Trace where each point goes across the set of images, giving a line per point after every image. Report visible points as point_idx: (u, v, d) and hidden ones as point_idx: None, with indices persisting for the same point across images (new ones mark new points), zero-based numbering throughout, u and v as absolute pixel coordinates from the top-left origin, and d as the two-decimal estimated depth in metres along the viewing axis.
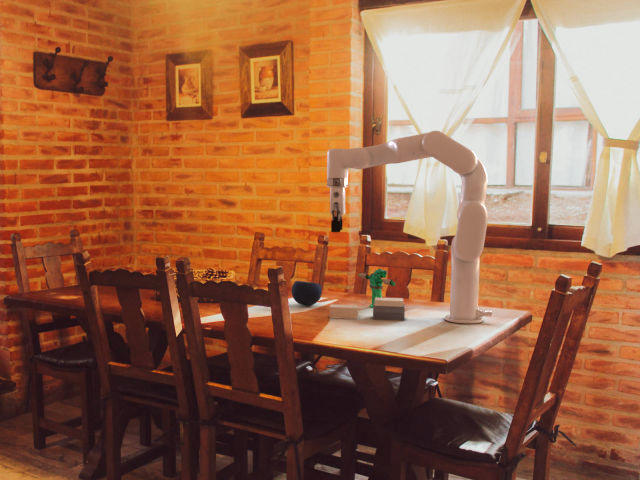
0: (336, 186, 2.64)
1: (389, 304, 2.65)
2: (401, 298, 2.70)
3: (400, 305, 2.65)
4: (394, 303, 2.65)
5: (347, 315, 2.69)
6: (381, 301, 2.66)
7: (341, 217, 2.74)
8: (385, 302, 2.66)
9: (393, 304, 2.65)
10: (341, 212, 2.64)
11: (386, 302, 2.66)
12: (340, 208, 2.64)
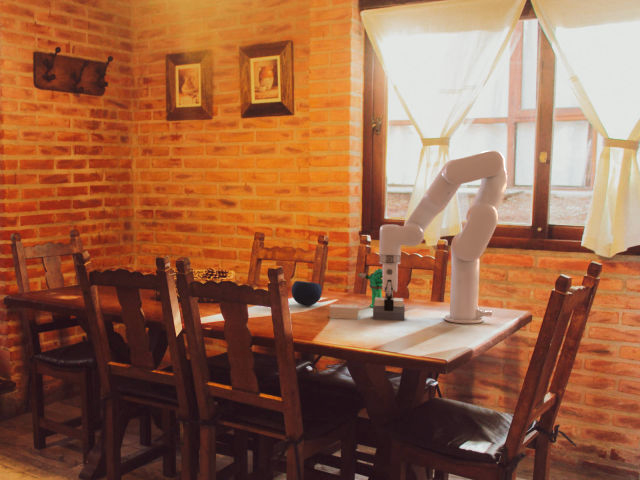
0: (389, 263, 2.63)
1: None
2: (401, 298, 2.70)
3: (400, 305, 2.65)
4: (394, 303, 2.65)
5: (347, 315, 2.69)
6: (381, 301, 2.66)
7: None
8: None
9: (393, 304, 2.65)
10: (394, 289, 2.63)
11: None
12: (393, 285, 2.62)
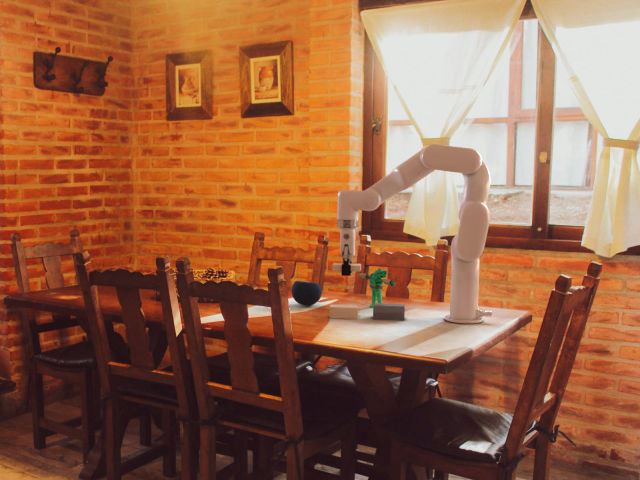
0: (346, 228, 2.64)
1: None
2: None
3: (357, 270, 2.66)
4: (351, 268, 2.67)
5: (347, 315, 2.69)
6: (338, 266, 2.67)
7: (350, 259, 2.73)
8: None
9: None
10: (351, 254, 2.64)
11: None
12: (350, 250, 2.64)
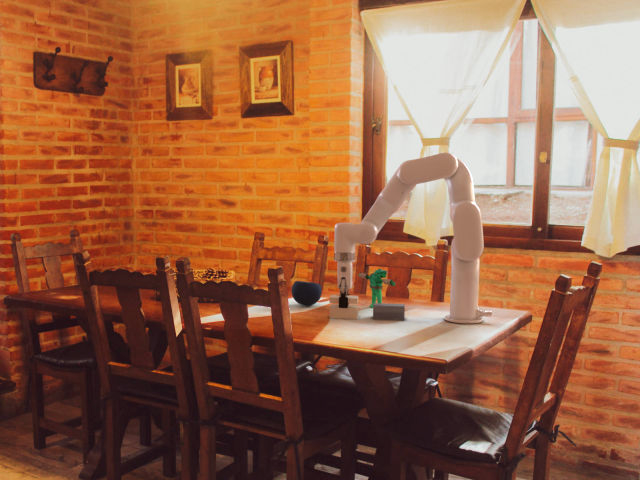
0: (343, 261, 2.66)
1: None
2: None
3: (354, 302, 2.68)
4: (348, 300, 2.68)
5: (347, 315, 2.69)
6: (336, 298, 2.69)
7: (348, 291, 2.74)
8: None
9: None
10: (348, 287, 2.66)
11: None
12: (347, 283, 2.65)
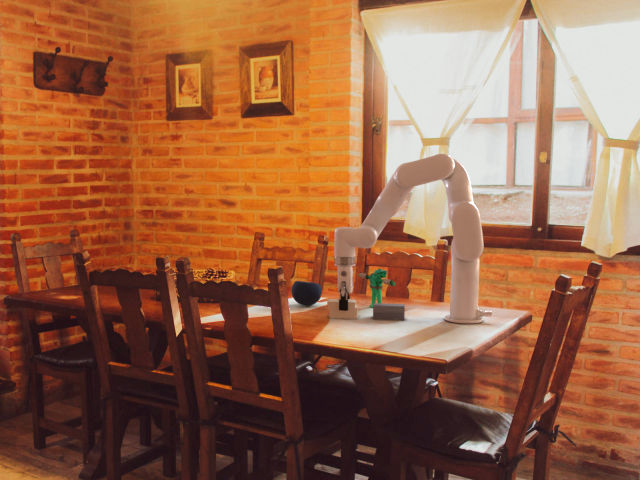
0: (343, 265, 2.66)
1: None
2: None
3: (352, 306, 2.68)
4: None
5: (347, 315, 2.69)
6: (333, 302, 2.69)
7: (348, 293, 2.76)
8: (337, 303, 2.69)
9: None
10: (349, 291, 2.66)
11: (338, 303, 2.69)
12: (348, 287, 2.66)
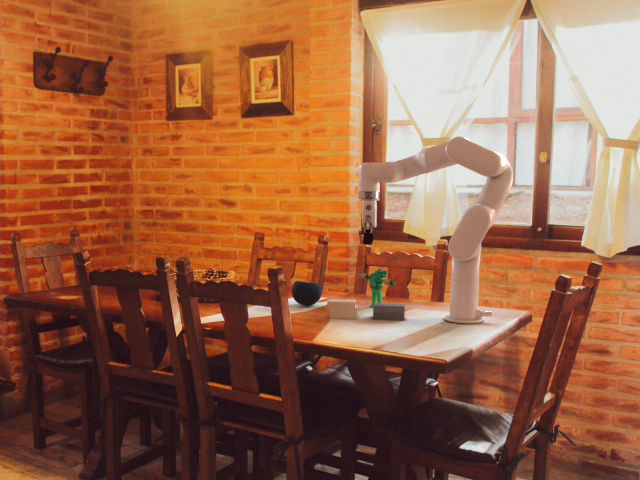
0: (368, 199, 2.70)
1: (341, 305, 2.69)
2: None
3: (352, 306, 2.68)
4: (346, 305, 2.69)
5: (347, 315, 2.69)
6: (333, 302, 2.69)
7: (372, 229, 2.80)
8: (337, 303, 2.69)
9: (345, 305, 2.69)
10: (373, 225, 2.70)
11: (338, 303, 2.69)
12: (372, 221, 2.70)
